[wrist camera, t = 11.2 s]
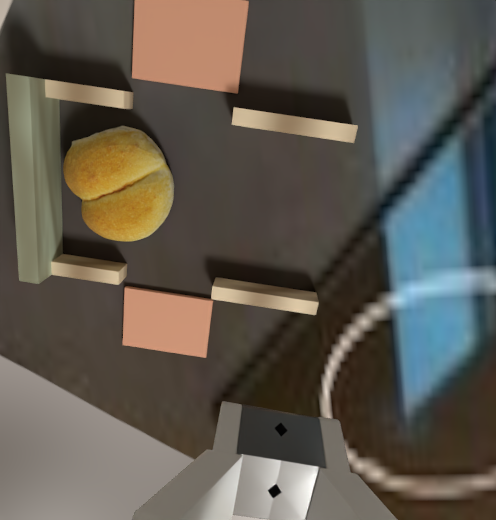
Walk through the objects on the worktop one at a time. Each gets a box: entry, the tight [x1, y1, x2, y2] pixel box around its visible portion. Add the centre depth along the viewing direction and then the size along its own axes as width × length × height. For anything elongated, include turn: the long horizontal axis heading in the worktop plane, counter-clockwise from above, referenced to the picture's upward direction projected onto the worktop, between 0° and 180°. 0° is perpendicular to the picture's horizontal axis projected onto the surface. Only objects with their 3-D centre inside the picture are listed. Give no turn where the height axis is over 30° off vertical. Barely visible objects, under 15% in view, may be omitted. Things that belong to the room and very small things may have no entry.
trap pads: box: [123, 0, 249, 358], centre depth 33 cm, size 8×29×1 cm, turn 172°
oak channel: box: [6, 73, 358, 315], centre depth 32 cm, size 24×15×4 cm, turn 82°
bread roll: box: [63, 126, 174, 241], centre depth 32 cm, size 8×9×4 cm
